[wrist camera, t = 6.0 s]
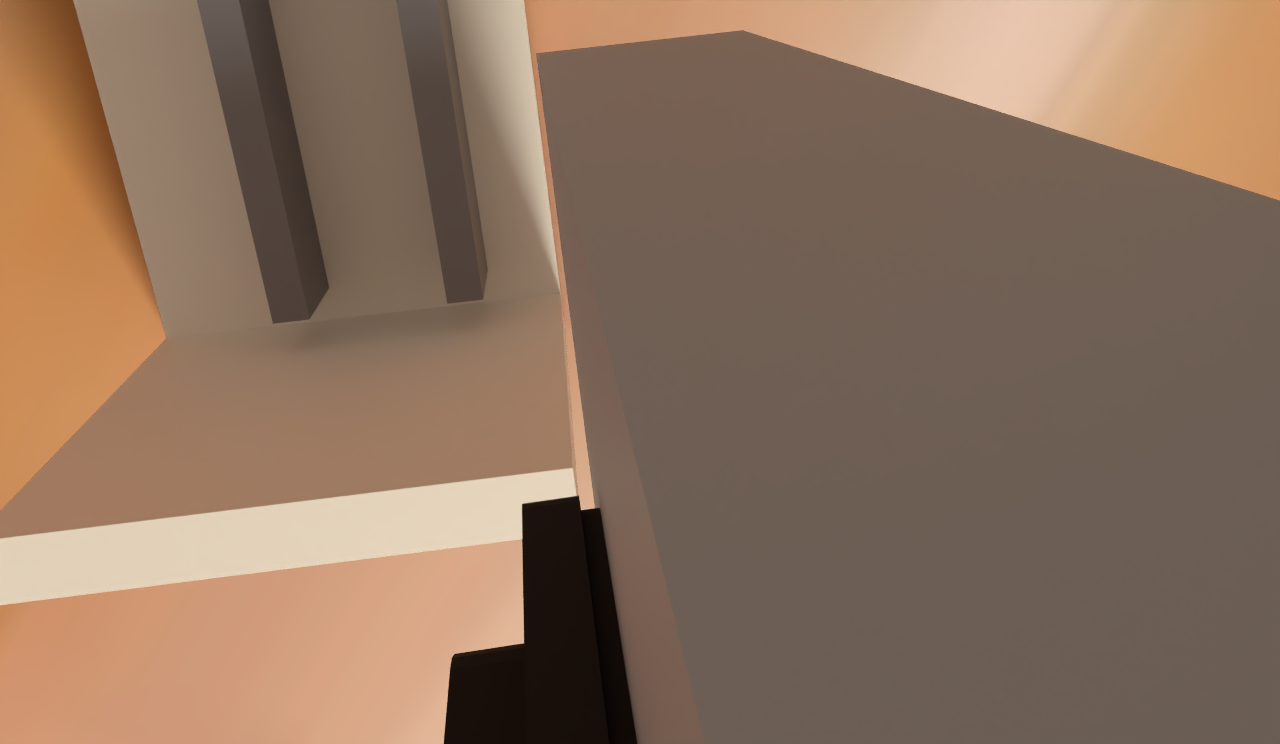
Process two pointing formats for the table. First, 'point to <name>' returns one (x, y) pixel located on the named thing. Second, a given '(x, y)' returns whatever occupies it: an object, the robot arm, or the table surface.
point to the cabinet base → (314, 297)
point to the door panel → (914, 409)
